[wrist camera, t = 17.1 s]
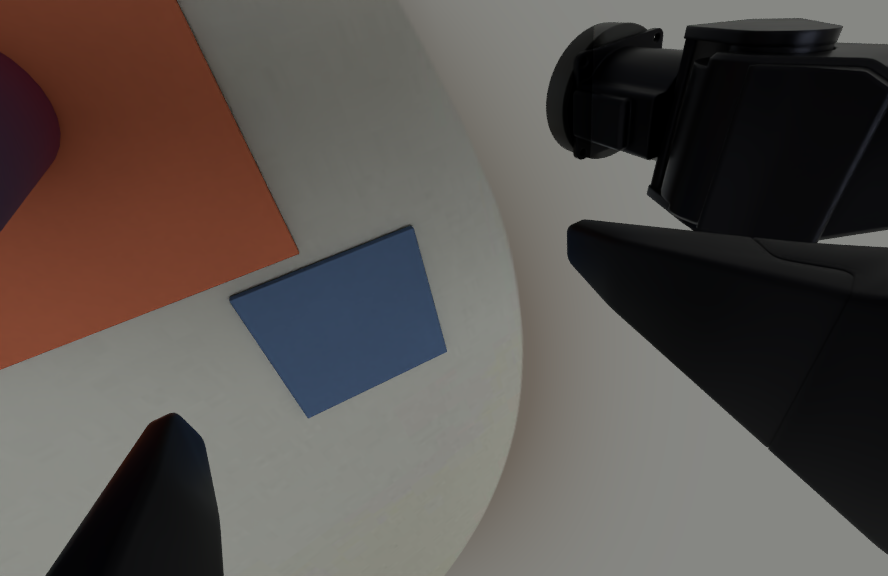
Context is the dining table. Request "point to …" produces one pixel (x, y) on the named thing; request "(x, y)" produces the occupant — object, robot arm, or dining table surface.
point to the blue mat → (346, 321)
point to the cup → (23, 136)
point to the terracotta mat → (125, 175)
